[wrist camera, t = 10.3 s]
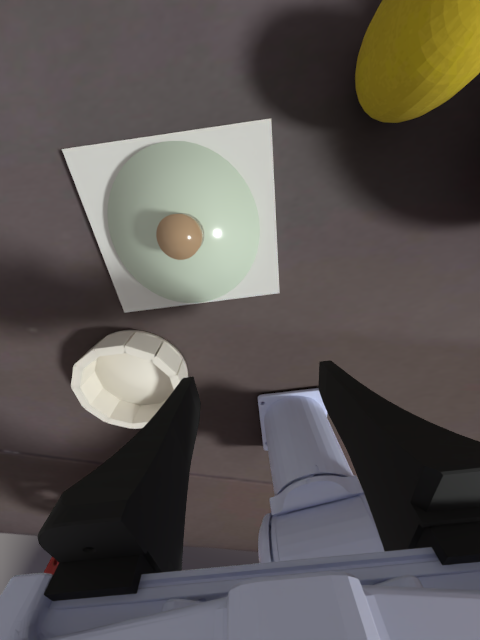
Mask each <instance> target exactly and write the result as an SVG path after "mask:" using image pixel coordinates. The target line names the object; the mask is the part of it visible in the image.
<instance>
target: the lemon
mask: <svg viewBox="0 0 480 640" xmlns="http://www.w3.org/2000/svg"><path fill="white" fill-rule="evenodd" d="M479 73H480V0H382V2H381V3H380V5H379V7H378V9H377V11H376V13H375V15H374V17H373V19H372V21H371V22H370V24H369V26H368V28H367V31H366V33H365V35H364V38H363V41H362V45H361V48H360V51H359V54H358V58H357V65H356V72H355V84H356V92H357V96H358V100H359V102H360V104H361V106H362V108H363V109H364V111H365V112H366V113H367V114H368V115H369V116H370V117H371V118H373V119H376V120H378V121H381V122H386V123H399V122H403V121H407V120H411V119H414V118H417V117H420V116H422V115H424V114H426V113H427V112H429V111H431V110H433V109H434V108H436V107H438V106H440V105H441V104H443V103H445V102H446V101H447V100H449V99H450V98H452V97H453V96H454V95H455V94H457V93H458V92H459V91H460V90H461V89H462V88H463V87H465V86H466V85H467V84H468V83H469V82H470V81H471V80H473V79H474V78H475V77H476V76H477V75H478V74H479Z"/></svg>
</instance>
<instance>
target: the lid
mask: <svg viewBox="0 0 480 640" xmlns="http://www.w3.org/2000/svg"><path fill="white" fill-rule="evenodd" d="M107 216H108V227H109V232H110V236H111V239H112V242H113V245H114V248H115V250H116V252H117V254H118V257H119V258H120V260H121V261H122V263H123V265H124V266H125V267H126V269H127V270H128V271H129V273H130V274H131V275H132V276H133V277H134V278H135V279H136V280H137V281H138V282H139V283H141V284H142V285H143V286H144V287H146V288H147V289H149V290H150V291H152V292H153V293H155V294H157V295H159V296H161V297H164V298H166V299H169V300H173V301H177V302H183V303H200V302H206V301H211V300H214V299H216V298H219V297H221V296H223V295H225V294H227V293H228V292H230V291H231V290H232V289H234V288H235V287H236V286H237V285H238V284H239V283H240V282H241V281H242V280H243V279H244V277H245V276H246V275H247V273H248V272H249V270H250V268H251V266H252V264H253V262H254V260H255V257H256V254H257V250H258V245H259V238H260V223H259V216H258V210H257V207H256V203H255V200H254V198H253V195H252V193H251V191H250V189H249V187H248V185H247V184H246V182H245V180H244V179H243V177H242V176H241V175H240V174H239V172H238V171H237V170H236V169H235V168H234V167H233V166H232V165H231V164H230V163H229V162H228V161H227V160H226V159H224V158H223V157H222V156H220V155H219V154H218V153H216V152H214V151H212V150H210V149H209V148H206V147H204V146H201V145H198V144H195V143H191V142H186V141H167V142H160V143H157V144H153V145H150V146H148V147H146V148H144V149H142V150H141V151H139V152H138V153H136V154H135V155H134V156H132V157H131V158H130V159H129V160H128V161H127V162H126V163H125V164H124V166H123V167H122V168H121V170H120V171H119V173H118V174H117V176H116V178H115V180H114V182H113V185H112V188H111V191H110V195H109V201H108V213H107Z"/></svg>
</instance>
